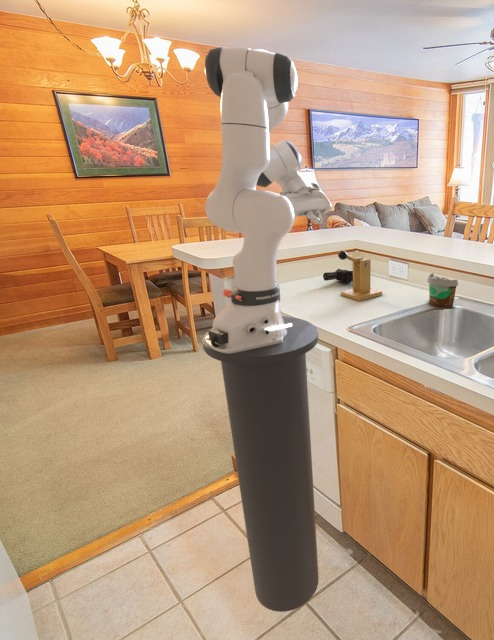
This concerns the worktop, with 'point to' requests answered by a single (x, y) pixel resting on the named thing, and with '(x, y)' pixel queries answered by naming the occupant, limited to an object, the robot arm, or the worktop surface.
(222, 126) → the robot arm
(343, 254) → the latch lever
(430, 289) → the food container
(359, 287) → the lever stand
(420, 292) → the worktop surface
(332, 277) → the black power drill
